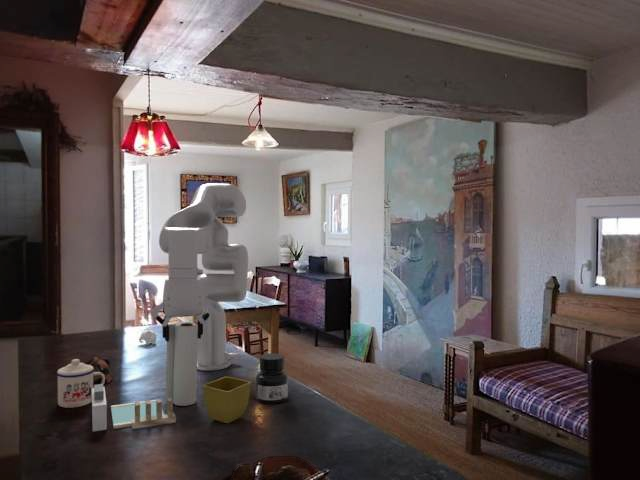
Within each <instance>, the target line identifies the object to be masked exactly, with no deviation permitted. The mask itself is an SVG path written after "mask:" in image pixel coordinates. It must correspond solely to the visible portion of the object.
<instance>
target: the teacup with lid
mask: <svg viewBox="0 0 640 480" xmlns="http://www.w3.org/2000/svg"><path fill="white" fill-rule="evenodd" d="M84 363H85V362H81V360H80V359H78V358H75V359H72V360H71V363H69V364H67V365H65V366H63V367H61V368H59V369H58V370H57V372H56V376H57V404H58V406H59V407H62V408H66V409H67V408H68V409H71V408H73V409H74V408H79V407H83V406H86V405H90V403H91V404H92V388H94V376H101V382H100V384H103V386H104V385H105V383H106V379H105V376H106V375H104V374H103V373H101V372H100V371H98V372H93V371H94V368H93V366H91V365H86V364H84Z"/></svg>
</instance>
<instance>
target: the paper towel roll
mask: <svg viewBox="0 0 640 480" xmlns="http://www.w3.org/2000/svg"><path fill="white" fill-rule="evenodd" d="M168 326H169V341H167V342H166V360H165V361H166V363H165V364H166V365H165V397H164V398H165V401H164V402H165V403H167V398H172V400H173V404H174V405H175V406H179V407H180V406H181V407H185V406H187V407H188V406H191V405H193V404H195V403H196V402H197V385H198V384H197V383H198V382H197V378H198V370H197V349H198V324H196V323H192V322H181V323H173V324H168Z"/></svg>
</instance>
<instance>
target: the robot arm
mask: <svg viewBox="0 0 640 480" xmlns="http://www.w3.org/2000/svg"><path fill="white" fill-rule="evenodd" d="M246 209H247V201H246V197H245V196H244V194H243V192H242V191H241V189H240V188H239V187H238V186H237V185H235V184H231V183H205V184H201V185H200V186H198V187H197V189H196V191H195V192H194V195H193V196H192V198H191V201H190V204H189V205H188V206H187V207H184V208H182V209H181V210H179V211H177V212H175V213H173V214H171V215H170V216H169V217H168V218H167V219H166V221H165V222H164V224H163V226H162V229H161V230H160V233H159V236H158V243H159V247H160V250H161V251H162V252H163V253H165V254H167V255H168V279H166V278H165V280H164V285H163V291H162V292H163V295H162V301H161V303H159V304H158V305H156V306H155V307H154V308H152V309H151V311H150V314H151V315H152V316H153V317H154V319H155V320H156V322H158V323H159V324H160V325H162V338H163V339H164V340H165V342H166V343H167V341H169V326H168V325H169V323H170V322H171V319H172V318H182V317H183V318H184V317H185V318H187V317H195V318H196V321H197V322H196V323H195V324H198V349H197V371H207V372H208V371H209V372H211V371H219V370H224V369H227V368H229V367H230V366H231V360H233V359H234V360H238V359H240V352H234V351H233V352H232V351H231V352H228V351H227V349H226V346H227V344H226V343H227V342H226V339H227V338H226V335H227V333H226V332H227V330H226V329H227V328H226V324H227V323H226V322H227V320H226V319H227V315H226V311H225V310H224V308H223V307H222V305H221V304H220V303H239V302H243V301H244V300H245V299H246V296H247V291H248V290H247V288H248V276H249V275H248V272H249V254H248V249H247V247H246V246H245V245H244V244H242V243H228V242H229V230H228V228H227V227H226V225H225V224H224V223H223V222H222V220H220V219H219V217H220V218H240V217H242V216H244V214H245V213H246V211H247V210H246ZM198 255H201V265H202V267H203V268H204V269H205V270H207V271H212V272H213V271H214V272H233V273H204V272H203V269H200V268H198ZM203 273H204V274H203ZM160 311H162V313H163V314H164V317H161V316H160V315H159V312H160Z"/></svg>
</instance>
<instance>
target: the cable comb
mask: <svg viewBox="0 0 640 480" xmlns="http://www.w3.org/2000/svg"><path fill="white" fill-rule="evenodd" d="M155 400H156V416H151V402H150V400H145V401H146V417H144V418H140V403H139V402H140V401H136V402H134V403H135V419H131V423H132V426H131V429H132V430H135V429H142V428H149V427H154V426H155V427H156V426H161V425H167V424H168V425H169V424H173V423H175V424H176V420H177V417H176V416H177V415H176V414H175V413H174V412H173V411H174V410H173V406H174V405H173V404H174V403H173V400H172V398H167V402H166V414H165V413H164V415H162V409H163V402H162V399H161V398H157V399H155Z"/></svg>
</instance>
